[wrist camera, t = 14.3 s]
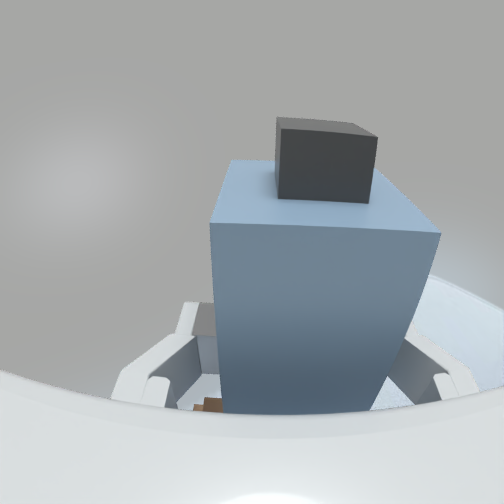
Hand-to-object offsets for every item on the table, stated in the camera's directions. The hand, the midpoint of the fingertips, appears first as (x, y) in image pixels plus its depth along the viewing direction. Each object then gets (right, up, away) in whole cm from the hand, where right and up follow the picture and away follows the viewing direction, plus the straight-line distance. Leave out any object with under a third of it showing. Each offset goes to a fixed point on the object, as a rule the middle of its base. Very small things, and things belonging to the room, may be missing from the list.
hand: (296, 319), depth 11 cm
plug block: (0, -6, +3) cm, 7 cm away
